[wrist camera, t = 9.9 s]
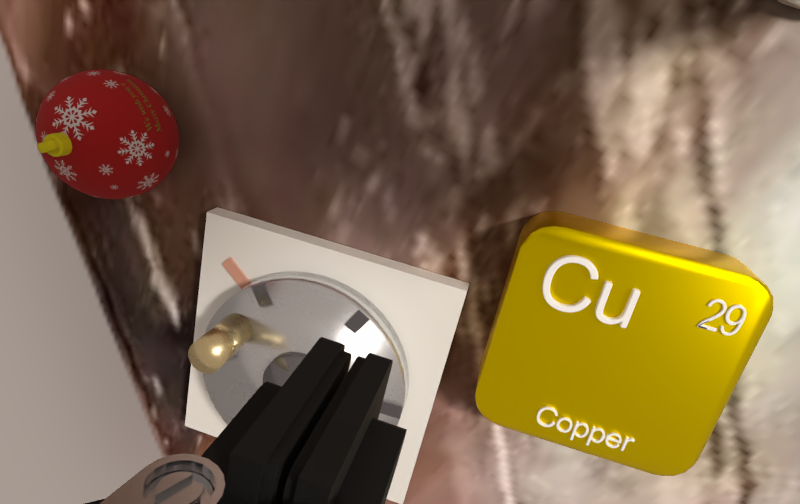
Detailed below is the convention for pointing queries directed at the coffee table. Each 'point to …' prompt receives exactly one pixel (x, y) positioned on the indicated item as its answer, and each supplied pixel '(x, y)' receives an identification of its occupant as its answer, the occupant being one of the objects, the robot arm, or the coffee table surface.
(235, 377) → the rotary dial
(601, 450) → the element tile
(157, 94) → the christmas ornament
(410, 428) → the base plate
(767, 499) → the coffee table surface
